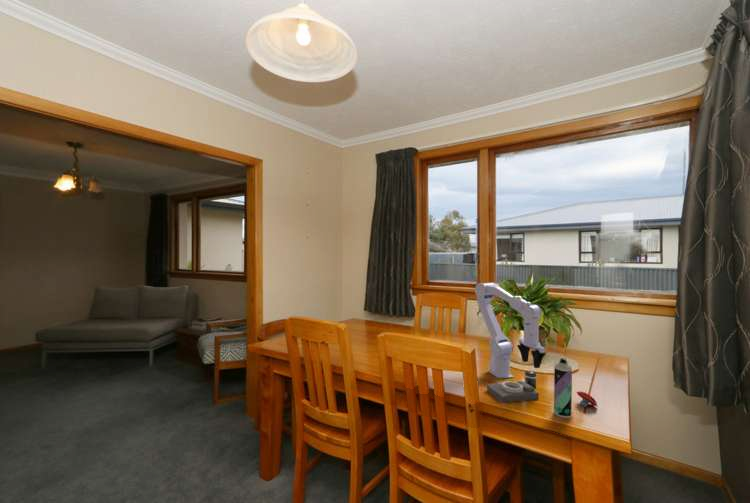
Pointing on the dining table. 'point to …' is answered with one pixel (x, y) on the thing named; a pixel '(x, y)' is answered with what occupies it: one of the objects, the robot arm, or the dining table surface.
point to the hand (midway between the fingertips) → (530, 364)
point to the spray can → (563, 389)
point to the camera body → (513, 391)
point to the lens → (530, 378)
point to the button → (586, 399)
